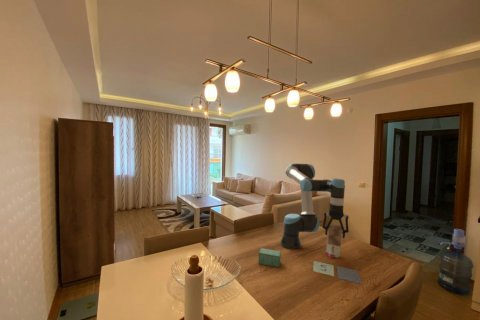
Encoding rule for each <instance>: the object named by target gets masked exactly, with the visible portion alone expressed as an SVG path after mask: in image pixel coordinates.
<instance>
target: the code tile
mask: <svg viewBox="0 0 480 320" xmlns="http://www.w3.org/2000/svg"><path fill="white" fill-rule="evenodd" d="M334 268H335V266H334V265H333V264H328V263H324V262H320V261H315V260H313V266H312V272H314V273H315V272H316V273H320V274H322V275H323V274H325V275H327V276H332V277H335V269H334Z"/></svg>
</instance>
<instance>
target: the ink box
mask: <svg viewBox="0 0 480 320" xmlns="http://www.w3.org/2000/svg"><path fill="white" fill-rule="evenodd" d="M341 247H342V245H341V246H336V245H331V244H328V241H327V240H326V247H325V256H326V255H327V257H328V258H329V257H330V258H329V259H334V258H333V257H336V258H340V257H339V256H341Z"/></svg>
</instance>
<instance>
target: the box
mask: <svg viewBox="0 0 480 320" xmlns="http://www.w3.org/2000/svg"><path fill="white" fill-rule="evenodd" d="M281 257H282V253H281V251H280V250H273V249H270V248H268V249H267V248H262V247H261V248H260V250H259V252H258V264H259V265H265V266H271V267H276V268H280V266H281Z"/></svg>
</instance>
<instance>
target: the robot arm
mask: <svg viewBox="0 0 480 320" xmlns="http://www.w3.org/2000/svg"><path fill="white" fill-rule="evenodd" d="M285 175H286V176H287V177H288V178H289V179H292V180H294V181H295V182H296V183H298V185H299V187H300V198H301V199H300V200H301V213H300V214H298V213H288V214H287V215H285V216H284V219H283V234H282V236H281V239H280V245H281V246H282V247H283V248H285V249H288V250H298V249H299V250H300V248H301V246H302V245H301V244H302V243H301V240H300V233H315V232H317V231H319V228H320V224H321V223H320V219H319V217H318V216H317V215H316V213H315V212H314V201H313V192H325V193H326V192H328V193H330V199H329V203H330V204H329V211H328V212H326V211H324V212H323V216H324V218H323V222H322V229H324V230H325V232H324V234H325V236H326V242H327V241H328V235H329V226H330V224H331V225H332V222H333V220H334V221H338V222H339V226H341V228H342V235H341V245H342V244H343V239H345V238H346V233H347V234H348V233H349V232H350V231H349V218H350V216H349V215H348V214H345V213H344V202H345V190H346V189H345V188H346V181H345V179H344V178H343V179H342V178H332V179H325V178H323V179H314V178H315V177H316V169H315V167H314V165H313V164H309V163H291V164H289V165H288V166H287V167H286V168H285ZM328 216H329V217H330V218H329V220H328V223H327V217H328ZM342 218H344V219H345V221H344V222H345V226H344V224H343V221H342ZM326 223H327V224H326Z"/></svg>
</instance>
